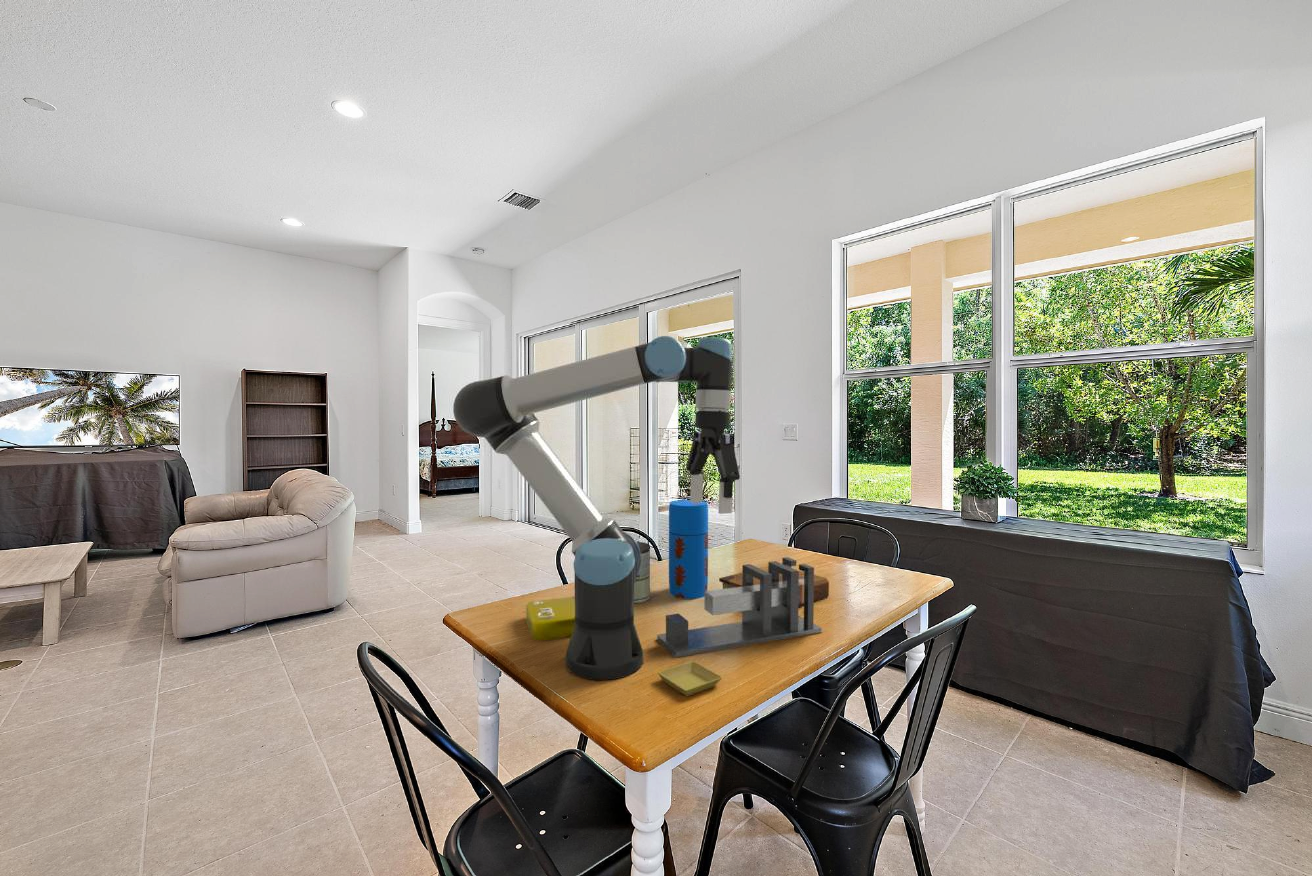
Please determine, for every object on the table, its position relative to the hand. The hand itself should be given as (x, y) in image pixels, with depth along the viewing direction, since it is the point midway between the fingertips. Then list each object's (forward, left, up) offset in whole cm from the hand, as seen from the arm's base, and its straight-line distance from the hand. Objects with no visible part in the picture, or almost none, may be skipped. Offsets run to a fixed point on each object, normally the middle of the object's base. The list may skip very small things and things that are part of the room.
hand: (709, 508), depth 121 cm
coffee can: (-7, +33, -29) cm, 44 cm away
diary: (+29, +19, -30) cm, 45 cm away
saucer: (-13, -17, -29) cm, 36 cm away
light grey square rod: (+12, -1, -23) cm, 26 cm away
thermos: (+9, +31, -29) cm, 43 cm away
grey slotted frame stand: (+7, -1, -29) cm, 30 cm away
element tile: (-29, +20, -29) cm, 46 cm away
